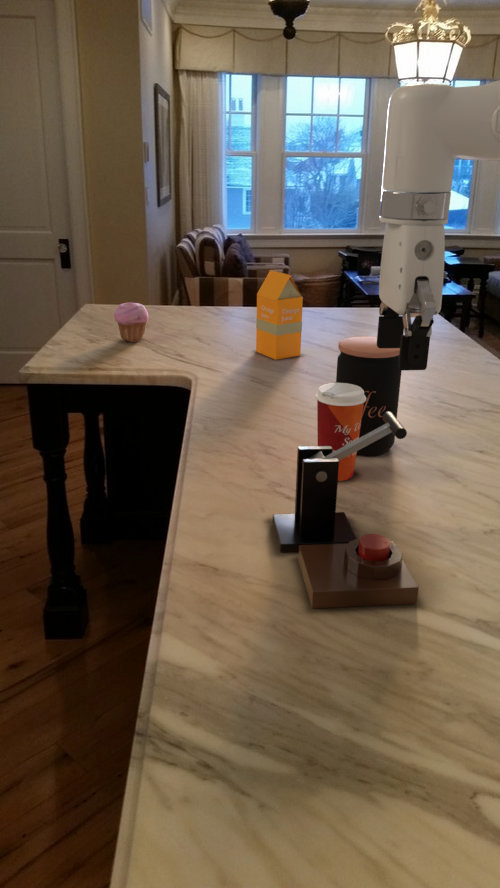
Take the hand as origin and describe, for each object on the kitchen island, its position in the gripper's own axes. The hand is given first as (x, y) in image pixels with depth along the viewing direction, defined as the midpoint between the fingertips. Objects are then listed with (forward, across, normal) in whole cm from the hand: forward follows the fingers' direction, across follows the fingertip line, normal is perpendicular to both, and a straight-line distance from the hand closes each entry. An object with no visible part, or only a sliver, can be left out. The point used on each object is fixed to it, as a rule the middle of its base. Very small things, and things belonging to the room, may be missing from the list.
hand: (400, 357), depth 85 cm
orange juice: (+24, +90, +3) cm, 93 cm away
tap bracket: (+24, 0, +10) cm, 26 cm away
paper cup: (+24, +19, +3) cm, 31 cm away
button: (+21, -11, +4) cm, 24 cm away
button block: (+24, -11, +6) cm, 27 cm away
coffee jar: (+24, +30, -4) cm, 39 cm away
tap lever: (+13, 0, +4) cm, 13 cm away
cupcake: (+24, +105, +40) cm, 115 cm away
